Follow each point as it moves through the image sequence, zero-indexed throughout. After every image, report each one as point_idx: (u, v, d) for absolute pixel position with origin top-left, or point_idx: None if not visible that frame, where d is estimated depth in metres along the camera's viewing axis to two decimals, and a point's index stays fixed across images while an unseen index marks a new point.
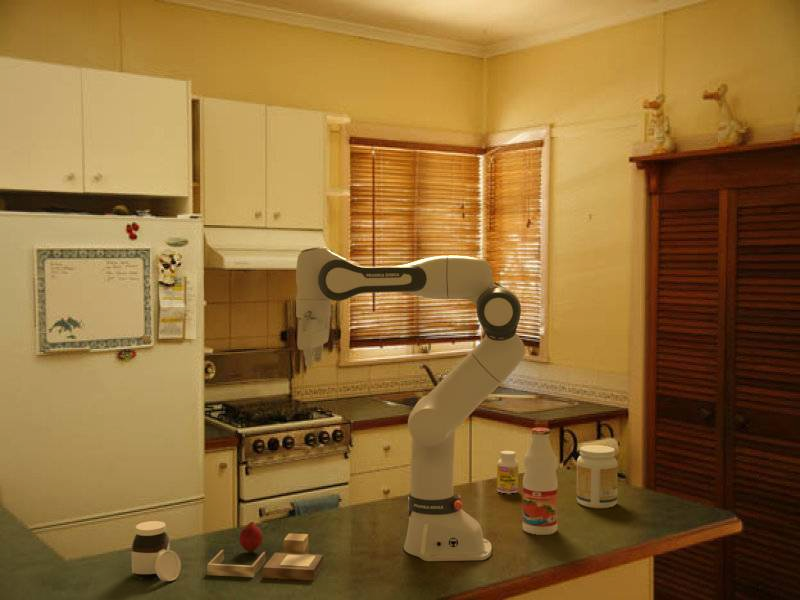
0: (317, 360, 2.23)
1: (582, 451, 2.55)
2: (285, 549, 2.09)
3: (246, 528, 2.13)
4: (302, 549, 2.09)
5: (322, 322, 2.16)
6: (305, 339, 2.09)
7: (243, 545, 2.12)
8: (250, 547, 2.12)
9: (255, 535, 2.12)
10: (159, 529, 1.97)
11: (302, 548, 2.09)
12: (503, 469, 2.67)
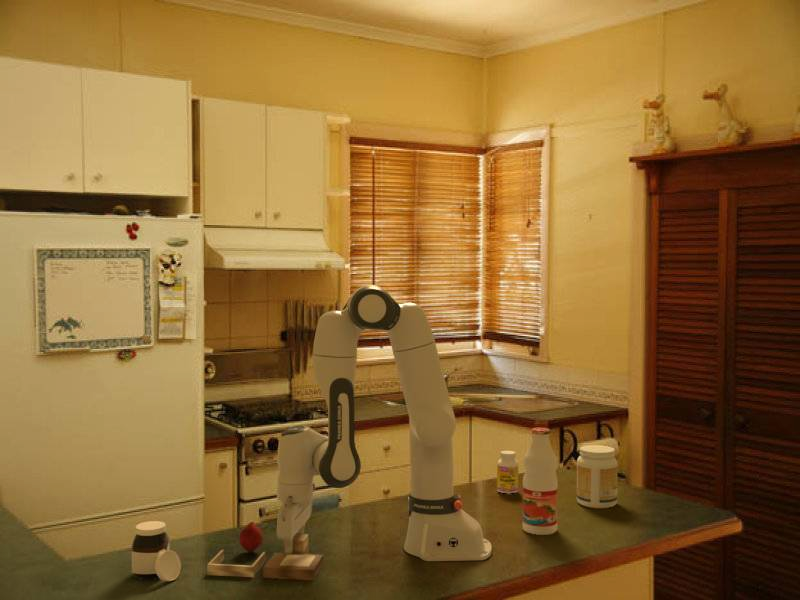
0: None
1: (582, 451, 2.55)
2: None
3: (246, 528, 2.13)
4: (302, 549, 2.09)
5: (304, 506, 2.10)
6: (284, 530, 2.02)
7: (243, 545, 2.12)
8: (250, 547, 2.12)
9: (255, 535, 2.12)
10: (159, 529, 1.97)
11: (302, 548, 2.09)
12: (503, 469, 2.67)
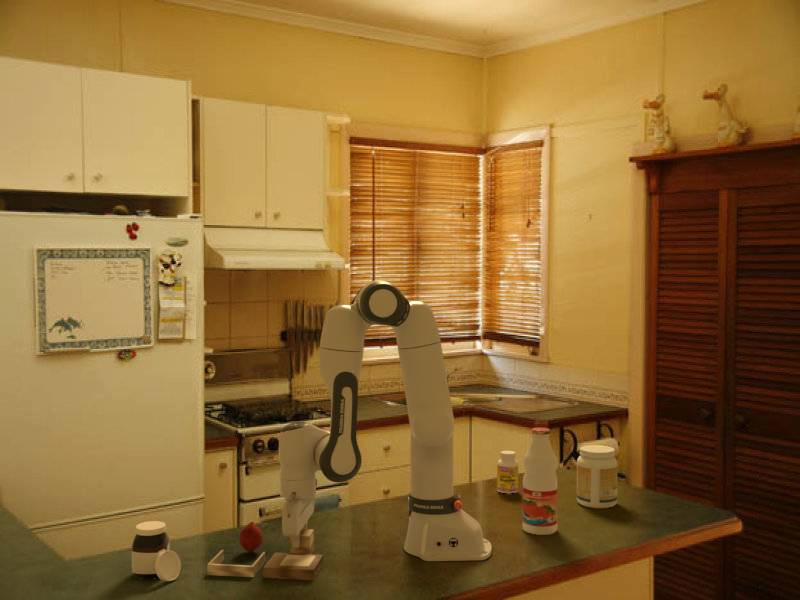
0: None
1: (582, 451, 2.55)
2: (291, 545, 2.09)
3: (246, 528, 2.13)
4: (309, 544, 2.08)
5: (307, 501, 2.09)
6: (290, 526, 2.01)
7: (243, 545, 2.12)
8: (250, 547, 2.12)
9: (255, 535, 2.12)
10: (159, 529, 1.97)
11: (309, 543, 2.08)
12: (503, 469, 2.67)
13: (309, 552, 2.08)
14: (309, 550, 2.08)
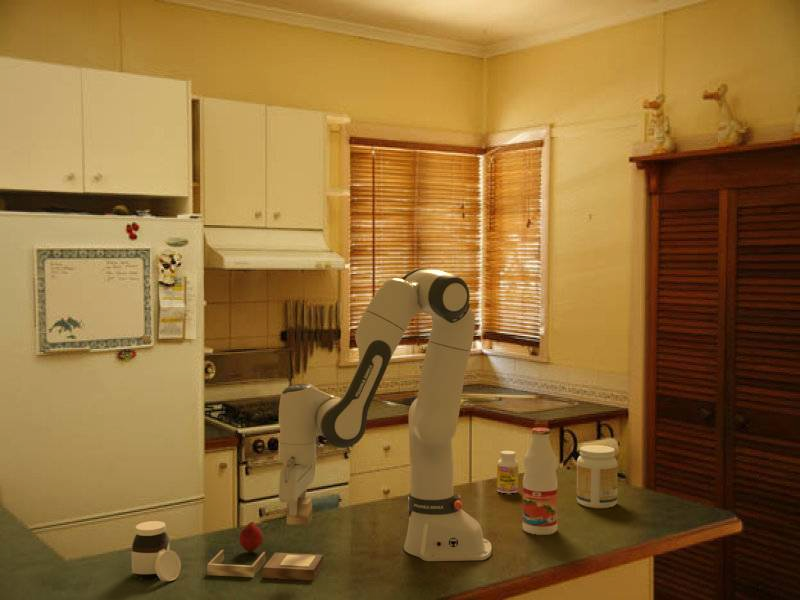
0: None
1: (582, 451, 2.55)
2: (288, 513, 1.98)
3: (246, 528, 2.13)
4: (306, 513, 1.98)
5: (307, 467, 1.98)
6: (287, 491, 1.90)
7: (243, 545, 2.12)
8: (250, 547, 2.12)
9: (255, 535, 2.12)
10: (159, 529, 1.97)
11: (306, 512, 1.98)
12: (503, 469, 2.67)
13: (306, 521, 1.98)
14: (306, 519, 1.98)
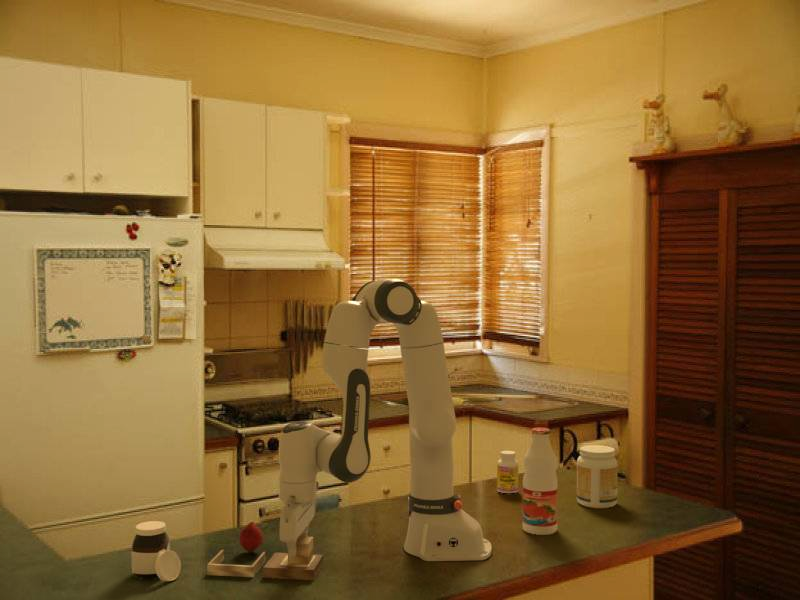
0: None
1: (582, 451, 2.55)
2: None
3: (246, 528, 2.13)
4: (307, 552, 1.98)
5: (307, 505, 1.99)
6: (288, 531, 1.91)
7: (243, 545, 2.12)
8: (250, 547, 2.12)
9: (255, 535, 2.12)
10: (159, 529, 1.97)
11: (307, 551, 1.98)
12: (503, 469, 2.67)
13: (307, 560, 1.98)
14: (307, 558, 1.98)
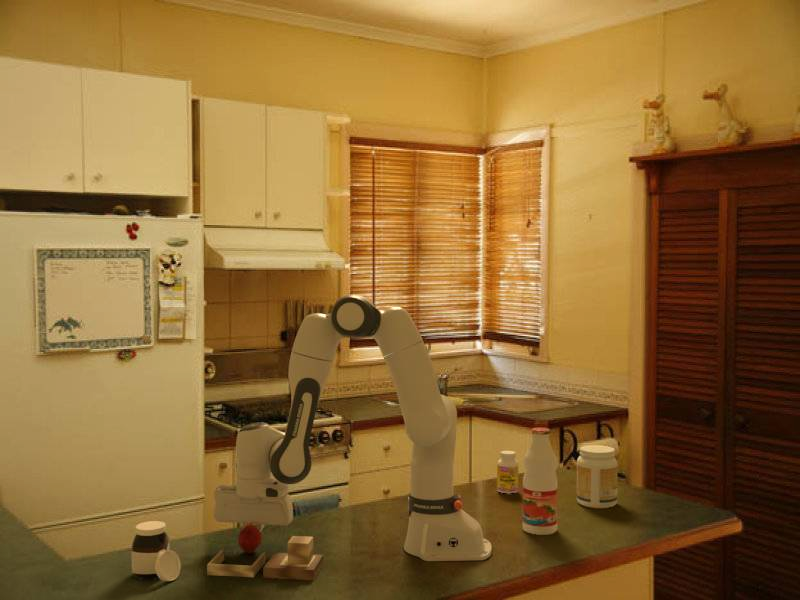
0: None
1: (582, 451, 2.55)
2: (289, 552, 1.99)
3: (245, 529, 2.12)
4: (307, 552, 1.98)
5: (244, 501, 2.14)
6: None
7: (242, 546, 2.11)
8: (249, 548, 2.11)
9: (254, 536, 2.11)
10: (159, 529, 1.97)
11: (307, 551, 1.98)
12: (503, 469, 2.67)
13: (307, 560, 1.98)
14: (307, 558, 1.98)
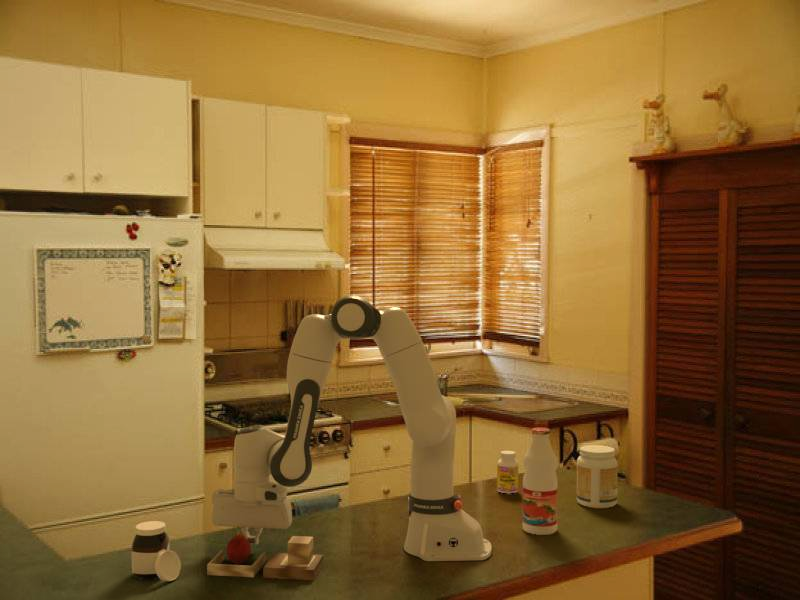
0: None
1: (582, 451, 2.55)
2: (289, 552, 1.99)
3: (234, 539, 2.04)
4: (307, 552, 1.98)
5: (242, 504, 2.12)
6: None
7: (230, 557, 2.03)
8: (237, 559, 2.03)
9: (243, 547, 2.04)
10: (159, 529, 1.97)
11: (307, 551, 1.98)
12: (503, 469, 2.67)
13: (307, 560, 1.98)
14: (307, 558, 1.98)
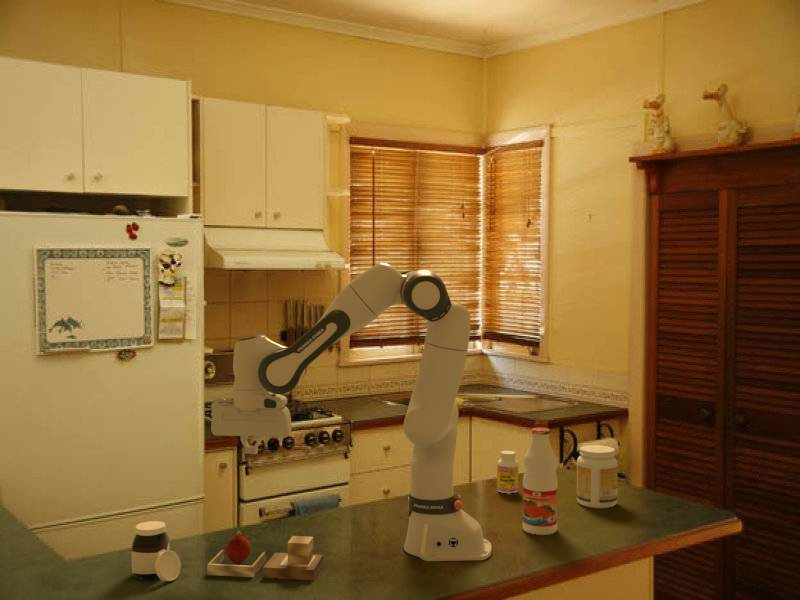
0: None
1: (582, 451, 2.55)
2: (289, 552, 1.99)
3: (233, 539, 2.04)
4: (307, 552, 1.98)
5: (242, 413, 2.11)
6: None
7: (230, 557, 2.04)
8: (236, 559, 2.03)
9: (242, 547, 2.03)
10: (159, 529, 1.97)
11: (307, 551, 1.98)
12: (503, 469, 2.67)
13: (307, 560, 1.98)
14: (307, 558, 1.98)
